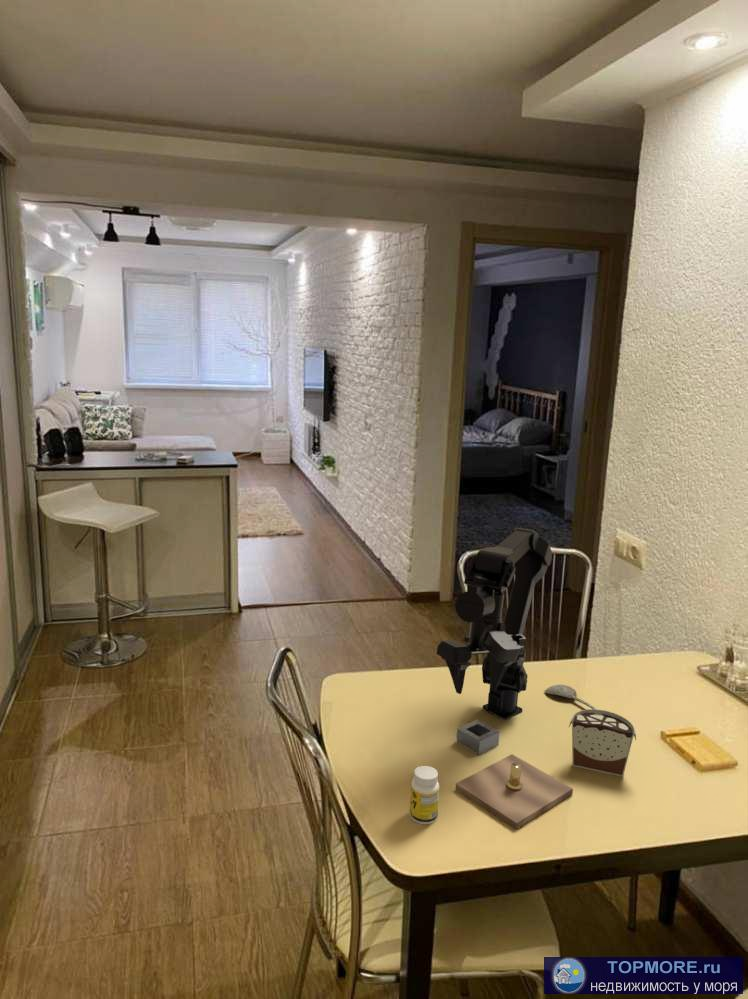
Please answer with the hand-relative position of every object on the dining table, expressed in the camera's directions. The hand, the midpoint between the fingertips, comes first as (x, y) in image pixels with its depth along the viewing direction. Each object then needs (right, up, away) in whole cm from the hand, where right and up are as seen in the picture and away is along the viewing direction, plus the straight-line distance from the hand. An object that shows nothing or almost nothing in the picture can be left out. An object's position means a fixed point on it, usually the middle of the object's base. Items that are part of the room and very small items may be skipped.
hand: (476, 691), depth 144 cm
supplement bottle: (-12, -16, -20) cm, 28 cm away
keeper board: (+5, -15, -12) cm, 20 cm away
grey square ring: (+1, -11, +3) cm, 12 cm away
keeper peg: (+5, -14, -13) cm, 19 cm away
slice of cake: (+24, -14, -2) cm, 27 cm away
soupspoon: (+27, -10, +20) cm, 35 cm away
